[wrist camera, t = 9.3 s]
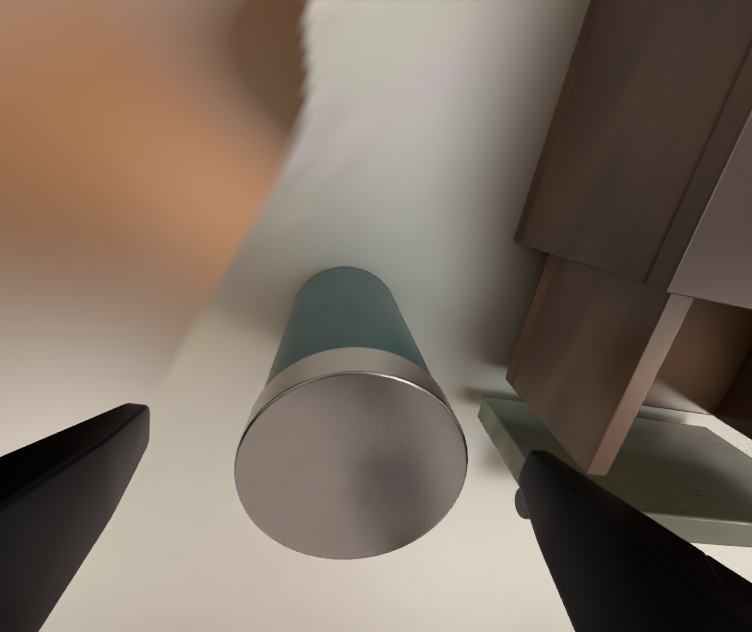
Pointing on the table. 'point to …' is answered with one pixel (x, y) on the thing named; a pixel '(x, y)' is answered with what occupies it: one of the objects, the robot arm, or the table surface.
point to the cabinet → (653, 150)
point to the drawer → (633, 398)
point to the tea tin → (349, 428)
